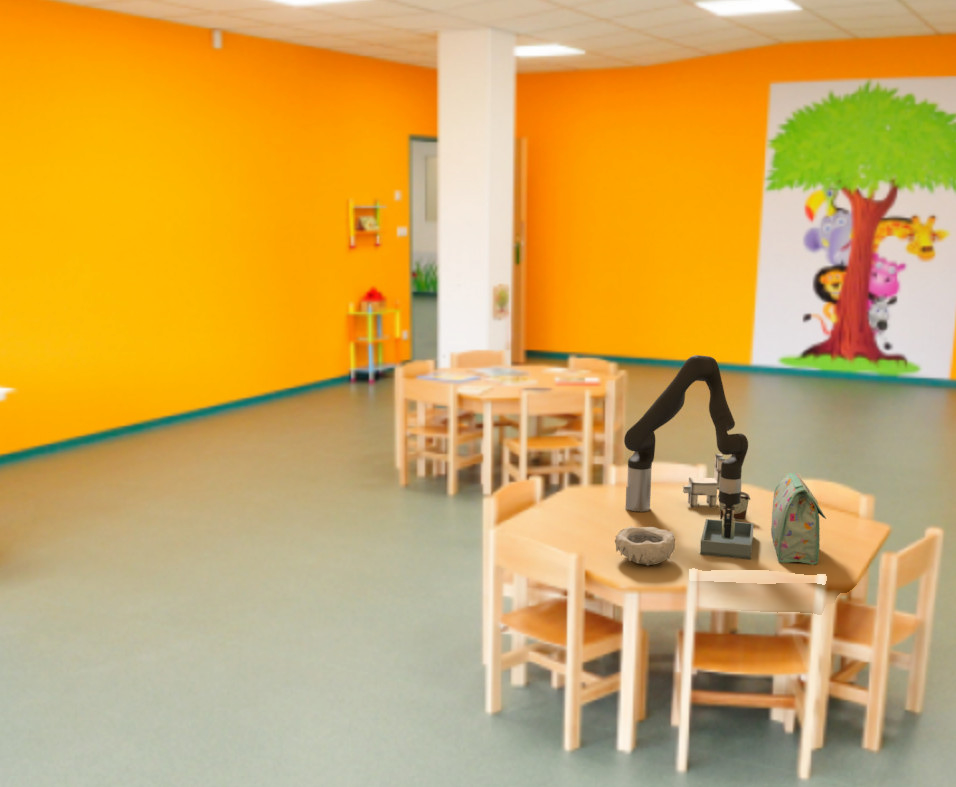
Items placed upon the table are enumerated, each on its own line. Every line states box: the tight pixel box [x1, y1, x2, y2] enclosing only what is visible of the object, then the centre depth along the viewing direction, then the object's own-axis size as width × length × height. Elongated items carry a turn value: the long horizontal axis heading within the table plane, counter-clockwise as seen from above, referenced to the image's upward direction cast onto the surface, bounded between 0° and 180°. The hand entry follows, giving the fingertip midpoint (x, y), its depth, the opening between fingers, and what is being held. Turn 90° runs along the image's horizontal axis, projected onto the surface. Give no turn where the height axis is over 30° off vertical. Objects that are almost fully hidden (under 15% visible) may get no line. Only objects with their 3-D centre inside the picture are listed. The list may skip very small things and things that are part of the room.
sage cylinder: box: [721, 518, 736, 540], centre depth 356 cm, size 4×4×7 cm
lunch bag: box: [770, 472, 827, 566], centre depth 347 cm, size 23×16×27 cm
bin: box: [699, 518, 754, 560], centre depth 356 cm, size 17×24×5 cm
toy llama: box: [682, 453, 726, 508], centre depth 400 cm, size 8×18×20 cm, turn 88°
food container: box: [717, 491, 751, 521], centre depth 386 cm, size 12×6×10 cm, turn 84°
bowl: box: [614, 525, 676, 567], centre depth 341 cm, size 21×20×10 cm
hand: (727, 535), depth 356 cm, fingers closed on sage cylinder, 4 cm apart
